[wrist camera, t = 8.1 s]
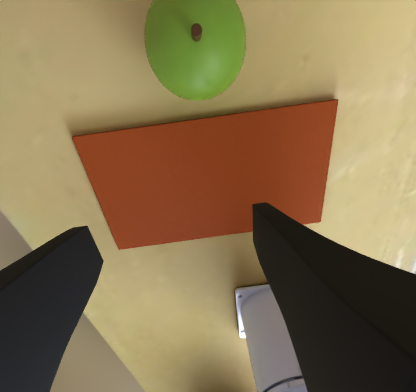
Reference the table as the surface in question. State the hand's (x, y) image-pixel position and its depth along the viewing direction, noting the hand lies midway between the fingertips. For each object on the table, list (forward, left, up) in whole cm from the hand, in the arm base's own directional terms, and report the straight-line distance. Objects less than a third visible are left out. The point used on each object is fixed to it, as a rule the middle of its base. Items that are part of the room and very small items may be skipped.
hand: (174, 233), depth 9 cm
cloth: (-2, -2, -9) cm, 10 cm away
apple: (+8, -2, -9) cm, 12 cm away
